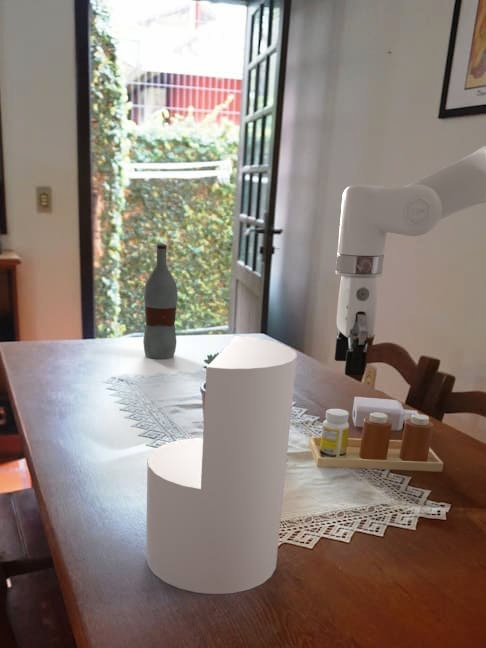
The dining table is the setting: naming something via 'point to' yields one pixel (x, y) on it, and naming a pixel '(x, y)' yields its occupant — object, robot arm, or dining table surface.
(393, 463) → the tray
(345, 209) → the robot arm
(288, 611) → the dining table surface
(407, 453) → the amber bottle
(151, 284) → the grey green soda bottle
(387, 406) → the charger
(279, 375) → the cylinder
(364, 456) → the amber bottle
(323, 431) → the supplement bottle
